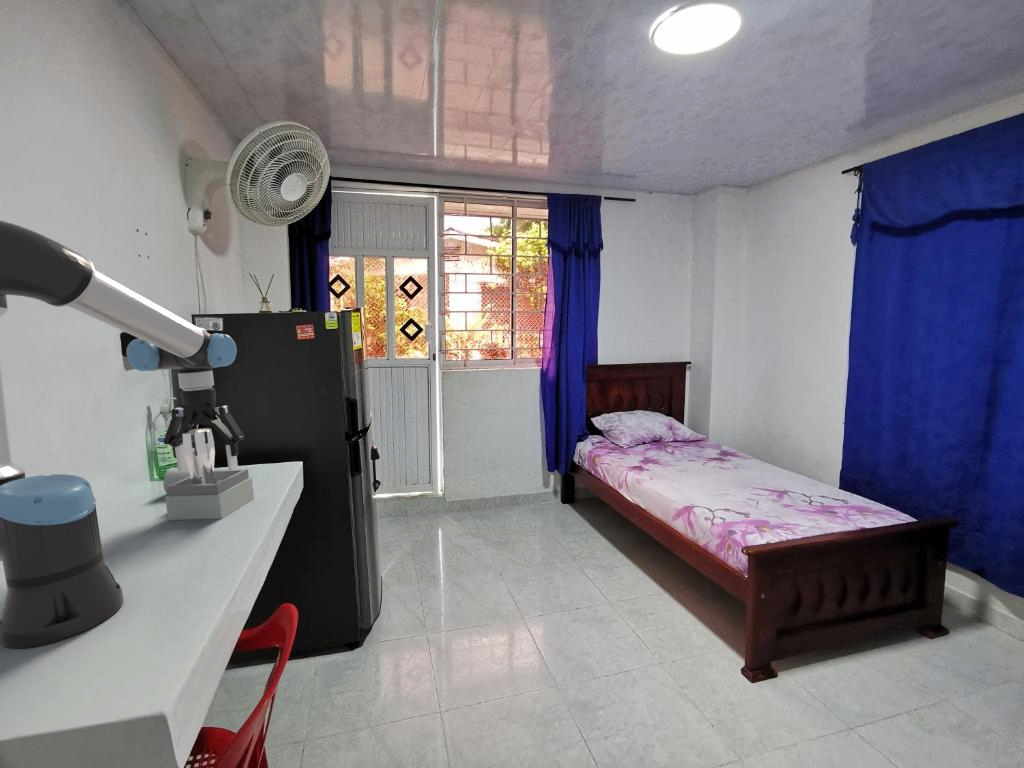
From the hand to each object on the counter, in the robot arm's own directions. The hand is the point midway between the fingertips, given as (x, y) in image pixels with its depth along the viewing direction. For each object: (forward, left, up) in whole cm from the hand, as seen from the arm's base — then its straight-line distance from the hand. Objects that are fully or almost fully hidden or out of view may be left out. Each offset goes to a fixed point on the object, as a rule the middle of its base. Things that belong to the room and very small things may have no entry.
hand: (208, 469), depth 129 cm
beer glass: (0, +2, -5) cm, 5 cm away
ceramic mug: (+15, +18, -11) cm, 26 cm away
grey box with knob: (0, +2, -11) cm, 11 cm away
